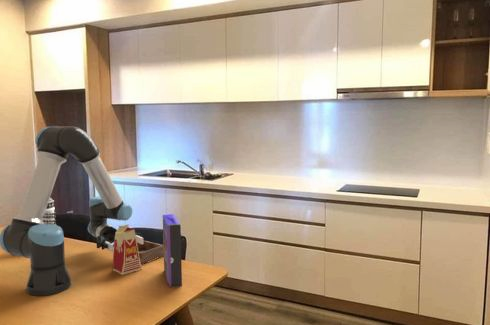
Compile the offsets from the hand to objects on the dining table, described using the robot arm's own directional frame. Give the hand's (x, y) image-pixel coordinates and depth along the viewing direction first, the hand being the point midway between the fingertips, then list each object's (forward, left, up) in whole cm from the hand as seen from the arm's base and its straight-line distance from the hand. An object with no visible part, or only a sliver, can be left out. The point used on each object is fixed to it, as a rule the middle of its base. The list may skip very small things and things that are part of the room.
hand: (127, 244), depth 168 cm
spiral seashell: (+38, +42, -11) cm, 58 cm away
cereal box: (-12, -18, -11) cm, 25 cm away
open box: (+15, -5, -11) cm, 19 cm away
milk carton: (+1, +1, -11) cm, 11 cm away
